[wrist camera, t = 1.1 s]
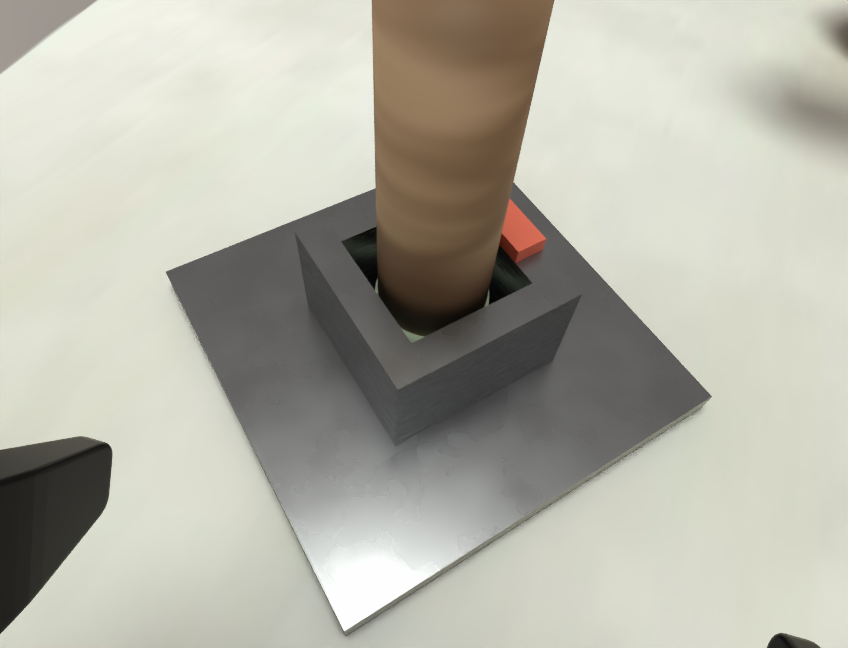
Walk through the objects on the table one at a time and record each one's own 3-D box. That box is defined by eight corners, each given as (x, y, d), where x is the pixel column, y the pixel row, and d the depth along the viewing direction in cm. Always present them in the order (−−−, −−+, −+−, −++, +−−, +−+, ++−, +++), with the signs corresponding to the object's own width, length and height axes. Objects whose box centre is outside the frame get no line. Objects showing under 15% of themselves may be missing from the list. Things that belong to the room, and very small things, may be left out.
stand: (345, 636, 21) (332, 601, 15) (172, 286, 28) (123, 183, 23) (701, 407, 26) (779, 325, 21) (477, 161, 33) (494, 55, 28)
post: (410, 393, 24) (432, 63, 12) (357, 312, 26) (332, -40, 14) (501, 345, 25) (599, 7, 14) (444, 272, 27) (488, -81, 16)
